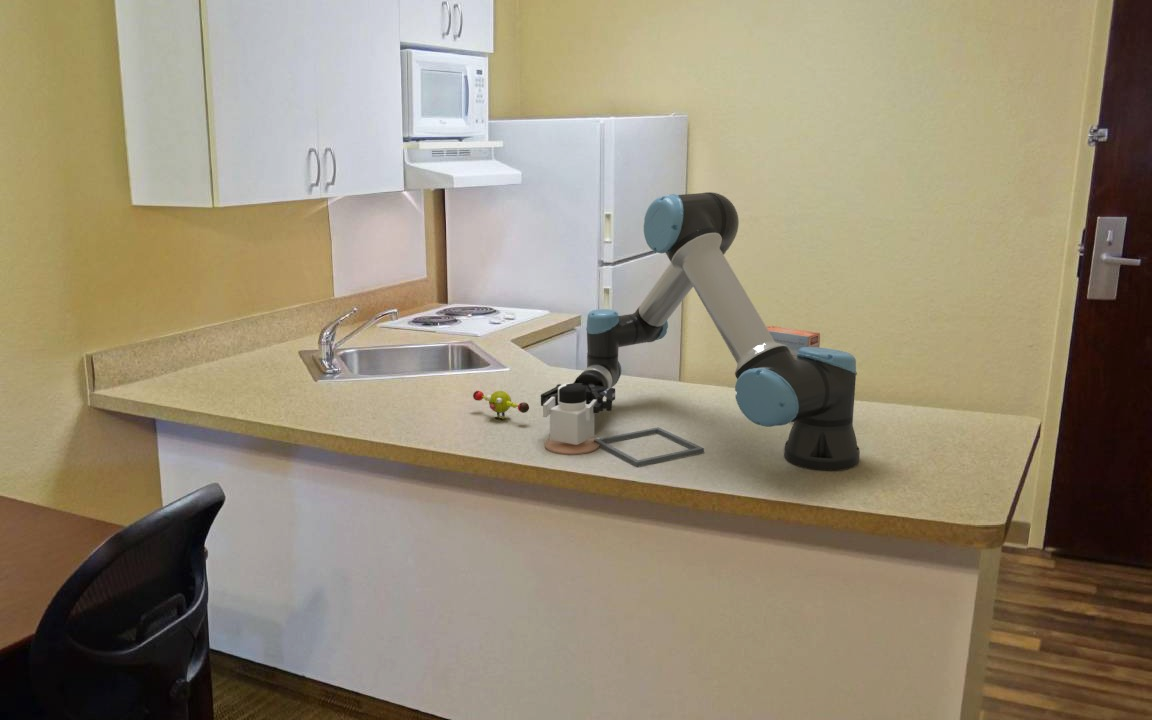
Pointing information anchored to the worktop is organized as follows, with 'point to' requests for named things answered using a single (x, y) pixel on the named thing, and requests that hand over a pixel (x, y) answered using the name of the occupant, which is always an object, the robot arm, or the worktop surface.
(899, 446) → the worktop surface
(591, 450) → the coaster
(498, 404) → the toy figure
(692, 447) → the gray square frame
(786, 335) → the cracker box
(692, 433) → the worktop surface
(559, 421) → the medicine bottle
